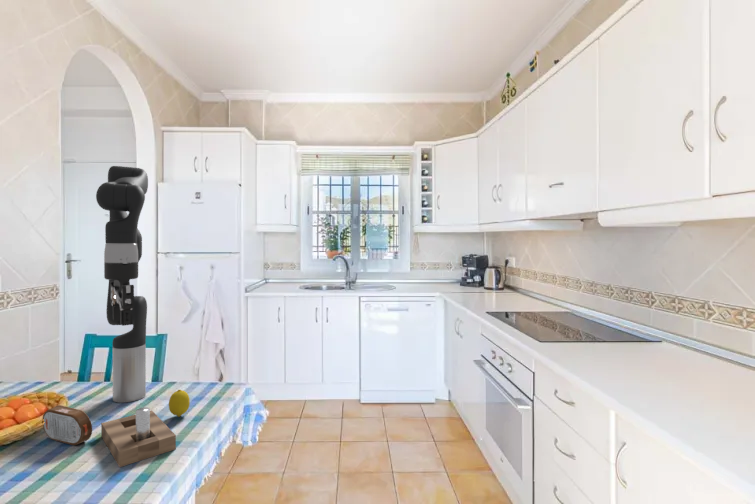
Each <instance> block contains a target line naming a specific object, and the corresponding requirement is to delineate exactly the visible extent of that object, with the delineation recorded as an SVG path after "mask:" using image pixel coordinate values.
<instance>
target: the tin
mask: <svg viewBox="0 0 755 504" xmlns="http://www.w3.org/2000/svg"><path fill="white" fill-rule="evenodd" d="M43 419H44V422H45V423H44V425H43V424H42V427H43V432H44V433H45V434H46V436H47V438H49V439H51V440H53V441H54V442H55V441H56V442H60V443H63V444H67V445H71V446H77V445H80V444H82V443H84V442H87V441H89V440H90V438H91V437H92V434H93V423H92V421H91V418H90V417H89V415H88V414H87V413H86V412H85V411H84V410H82V409H79V408H78V409H77V408H73V407H70V406H64V405H61V404H60V405H55V406H54V407H51V408H49V409H47V410H45V412H44V413H43V414H42V420H43Z"/></svg>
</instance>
